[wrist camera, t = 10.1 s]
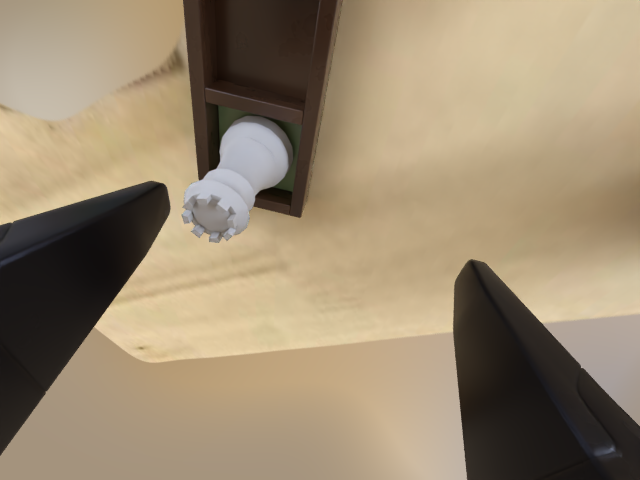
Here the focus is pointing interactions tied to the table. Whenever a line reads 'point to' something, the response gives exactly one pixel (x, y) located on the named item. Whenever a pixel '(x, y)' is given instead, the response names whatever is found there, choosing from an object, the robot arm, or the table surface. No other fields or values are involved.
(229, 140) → the rook chess piece
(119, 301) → the table surface
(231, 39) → the tray
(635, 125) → the table surface
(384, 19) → the table surface
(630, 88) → the table surface
